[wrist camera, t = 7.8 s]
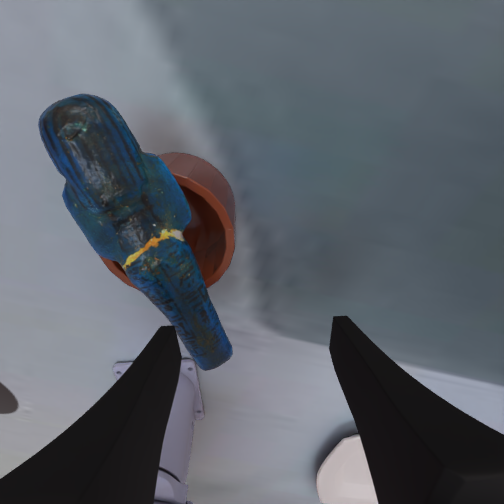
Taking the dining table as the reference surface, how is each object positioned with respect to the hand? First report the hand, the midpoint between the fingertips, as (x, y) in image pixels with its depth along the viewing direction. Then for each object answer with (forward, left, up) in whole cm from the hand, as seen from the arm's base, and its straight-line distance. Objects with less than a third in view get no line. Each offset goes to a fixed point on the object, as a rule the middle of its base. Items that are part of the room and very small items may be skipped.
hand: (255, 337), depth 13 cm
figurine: (+3, +4, -5) cm, 7 cm away
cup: (+3, +5, -10) cm, 12 cm away
